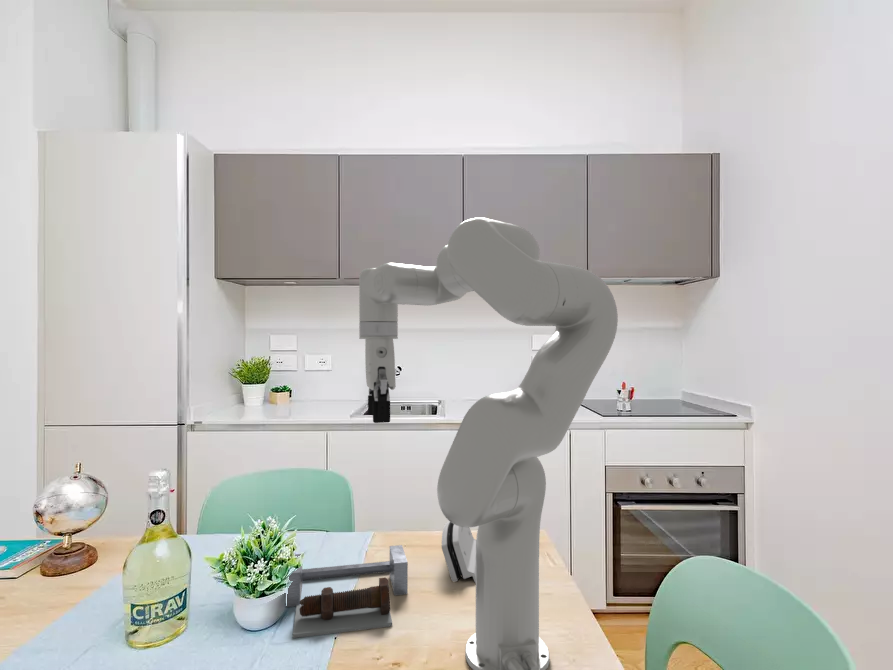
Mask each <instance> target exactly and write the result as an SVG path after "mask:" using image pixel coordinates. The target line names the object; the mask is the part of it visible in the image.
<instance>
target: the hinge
mask: <svg viewBox="0 0 893 670" xmlns="http://www.w3.org/2000/svg"><path fill="white" fill-rule="evenodd" d="M441 549H442V553H443V557H444V560H445V563H446V567H447V570H448V573H449V576H450V579H451V582H458V581H459V579H460V577H461V578H463V580H466V579H468V578H470V577H472V579H473V581H474V583H475V584H476V538H474V535H473V533H472V530H471V527H467V528H466V527H460V526H457V525H455V524H453V523H452V522H450V521H449V520H448V521H446V522H445V524H444V526H443V527H442V534H441Z"/></svg>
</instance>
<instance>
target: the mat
mask: <svg viewBox="0 0 893 670" xmlns="http://www.w3.org/2000/svg"><path fill="white" fill-rule="evenodd" d="M301 606H302V605H297V606H295V607H296V608H295V617H294V624H293V629H292V639H296V638H304V637H305V638H306V637H313V636H315V637H316V636H320V635H321V636H322V635H329V634H338V633H339V634H340V633H347V632H354V631H362V630H363V631H364V630H371V629H380V628H388V627H393V619H392V618H393V617H392V615H391V611H390V612H389V613H388V614H386V615H381V609H380V608H372V609H371V608H366V609H365V608H364V609H360V610H359V609H358V610H357V609H356V610H352V611H351V610H350V611H349V610H348V611H344V612H343V611H342V612H341V611H340V612H336V613H335V612H334V614H333V618H332V619H331V620H323V619H322V614H320V615H313V616H312V615H311V616H307V617H306V616H305V617H304V616H303V617H302V616H301V615H300V607H301Z"/></svg>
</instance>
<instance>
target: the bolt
mask: <svg viewBox="0 0 893 670" xmlns="http://www.w3.org/2000/svg"><path fill="white" fill-rule="evenodd" d="M389 582H390V581H389V579H388V577H386V576H385V577H379V578H378V585H376V586H370V587H365V588H361V589H360V588H357V589H353V590H352V589H351V590H349V589H348V590H347V591H346V590H345V591H337V592H336V591H335V592H334V589H333V588H332V587H331V586H328V587H323V588H322V589H321V593H320V594H314V595H309V596H308V595H307V596H306V595H305V596H304V597H303V598H301V600H300V605H302V606H301V607H300V615H301V616H302V617H303V616H304V617H305V616H306V617H307V616H311V615H312V616H313V615H320V614H322V619H323V620H331V619H332V618H333V614H334V612H335V613H336V612H340V611H341V612H342V611H343V612H344V611H348V610H349V611H350V610H351V611H352V610H356V609H357V610H358V609H359V610H360V609H364V608H365V609H366V608H371V609H372V608H380V609H381V615H386V614H388V613H389V612H390V613H391V592H390V583H389Z"/></svg>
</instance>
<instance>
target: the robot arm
mask: <svg viewBox="0 0 893 670" xmlns="http://www.w3.org/2000/svg"><path fill="white" fill-rule="evenodd" d="M539 246H540V245H539V244H538V241H537V239H536V237H535V236H534V235H533V234H532V233H531V232H530V231H529V230H528V229H526V228H524V227H522V226H519V225H517V224H515V223H514V224H512V223H508V222H504V221H500V220H495V219H490V218H487V217H474V218H473V217H472V218H469V219H466V220H464V221H463V222H461V223H459V224H458V226H456V227H455V228H454V230H453V231H452V233H451V234H450V237H449V238H448V242H447V245H445V246H443V247H442V248H441V249H440V251H439V252H438V254H437V258H436V265H435V266H423V265H416V264H407V263H406V264H405V263H396V262H387V263H383V264H381V265H379V266H376V267H371V268H364V269H362V271H361V272H360V274H359V276H358V277H359V279H358V281H359V283H358V285H359V286H358V287H359V290H358V291H359V298H358V299H359V305H358V306H359V311H358V312H359V324H358V325H359V328H358V329H359V333H358V335H359V336H358V337H359V339H360V340H364V341H365V344H364V346H365V351H364V352H365V358H364V360H365V363H364V364H365V380H366V386H367V387H368V395H367V414H368V415H369V416H372V422H373V423H374V424H382V423H383V424H384V423H390V422H391V400H390V390H392V391H393V390H395V389H396V365H395V363H396V360H395V358H396V357H395V345H394V340H398V339H399V338H398V337H399V331H398V330H399V327H398V325H399V324H398V323H399V322H398V321H399V319H398V316H399V312H398V310H399V305H408V306H410V305H411V306H424V307H425V306H428V307H429V306H436V305H441V304H447V303H450V302H455V301H457V300H460V299H462V298H463V297H464V296H465V295H466V294H467V293H470V292H475V293H476V294H477V295H478V296H479V297H480V298H481V299H482V300H484V301H485V302H486V303H487V304H488V305H489V306H490V307H491V308H492V309H493V310H494V311H495V312H497V313H498V314H499V315H500V316H501V317H503V318H504V319H506V320H507V321H509V322H512V323H514V324H517V325H521V326H527V327H528V326H529V327H555V329H554V330H555V331H554V332H553V333H552V334H551V336H550V337H549V338H548V339H547V340H546V341H545V343H544V344H542V346H540V348H539V349H538V350H537V352H536V353H535V355H534V357H533V359H532V360H531V361H530V362H531V363H530V365H529V366H528V367H529V368H528V370H527V372H526V374H525V375H524V377H523V379H522V381H521V382H520V383H519V385H518V387H517V388H514V389H513V390H510V391H503V392H498V393H497V392H496V393H492V394H488V395H485V396H483V397H481V398H480V399H478V400H477V401H476V402H475V403H473V405H471V406H470V407H469V409H468V410H467V412H466V413H465V415H464V416H463V418H462V420H461V422H460V425H459V427H458V429H457V432H456V434H455V436H454V439H453V441H452V443H451V445H450V448H449V450H448V453H447V455H446V457H445V459H444V462H443V464H442V467H441V469H440V471H439V476H438V479H437V488H436V492H437V493H436V494H437V502H438V505H439V508H440V511H441V512H442V514H443V516H444V517H445V518H446V520H448V521H450V522H452V523H453V524H455V525H457V526H460V527H466V528H467V527H469V528H475V527H477V532H476V538H475V539H476V583H475V633H474V634H472V635H471V636H470V637H469V638H468V640H467V641H466V644H465V647H464V648H465V649H464V650H465V651H464V652H465V653H464V654H465V659H466V662H467V664H468V665H469V667H470V668H471V669H472V670H547V669H548V668H549V664H550V651H549V648H548V646H547V644H546V643H545V642H544V641H543V639H541V637H540V628H539V627H540V533H541V532H540V531H541V521H542V513H543V509H544V508H543V507H544V503H545V496H546V489H547V481H546V478H547V477H546V473H545V469H544V467H543V465H542V462H541V460H539V458H538V457H541V456H542V457H543V456H545V455H548V454H550V453H552V452H553V451H555V450H556V449H557V448H558V447H559V446H560V444H561V443H562V441H563V440H564V438H565V436H566V434H567V432H568V430H569V428H570V426H571V424H572V422H573V421H574V418H575V416H576V414H577V413H578V411H579V408H580V407H581V406H582V404H583V401H584V400H585V397H586V396H587V393H588V391H589V389H590V388H591V385H592V383H593V381H594V379H595V378H596V377H597V374H598V372H599V371H600V369H601V368H602V365H603V364H604V362H605V360H606V358H607V356H608V355H609V353H610V350H611V348H612V346H613V345H614V341H615V339H616V336H617V335H616V334H617V330H618V321H619V320H618V309H617V308H618V307H617V304H616V300H615V297H614V295H613V293H612V291H611V289H610V288H609V286H608V285H607V283H606V282H605V281H604V280H603V279H602V278H601V277H600V276H598V275H597V274H596V273H594V272H593V271H590V269H589V270H588V269H585V268H584V267H580V266H578V265H577V266H576V265H571V264H566V263H565V264H564V263H558V262H553V261H552V262H551V261H544V260H540V256H541V255H540V253H541V252H540V247H539Z"/></svg>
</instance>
